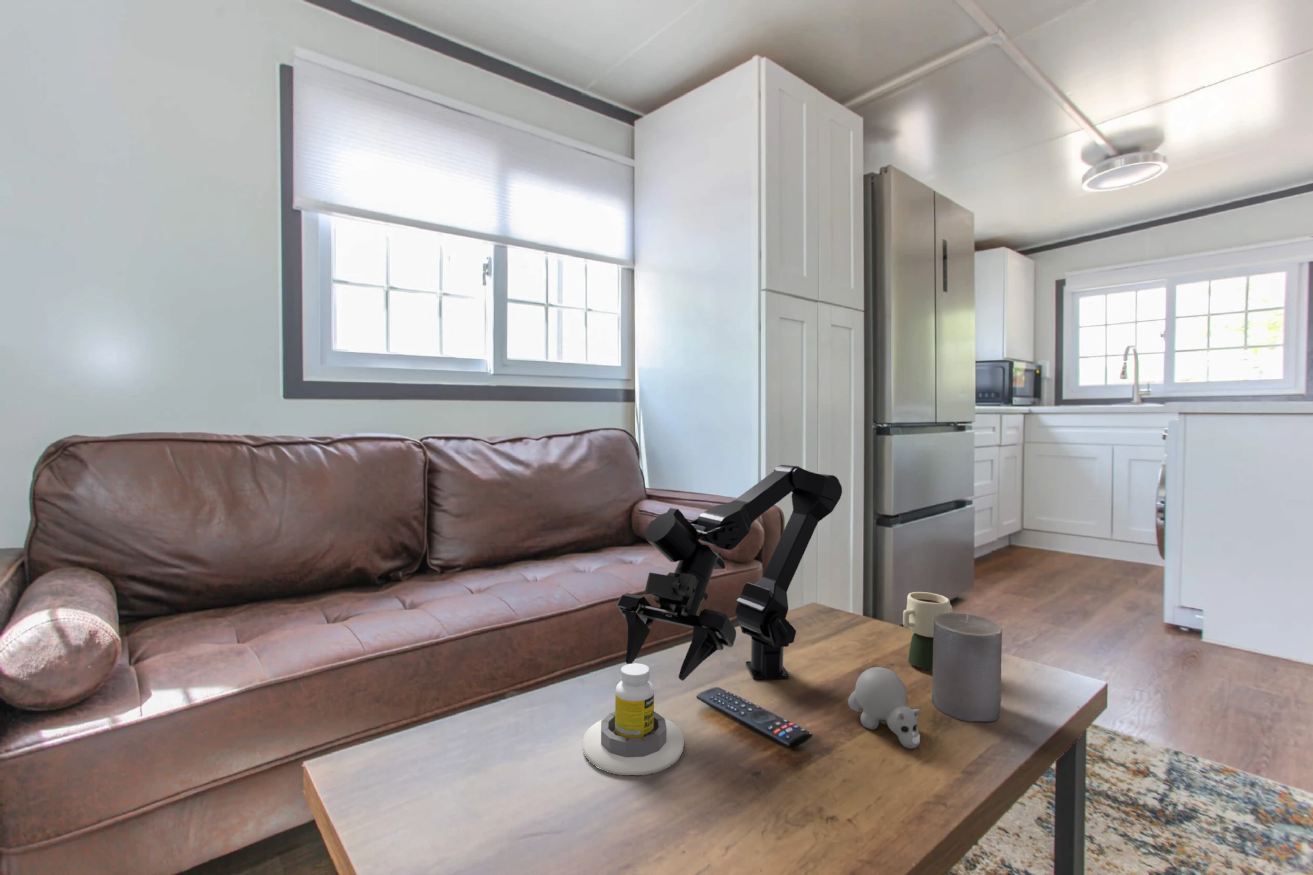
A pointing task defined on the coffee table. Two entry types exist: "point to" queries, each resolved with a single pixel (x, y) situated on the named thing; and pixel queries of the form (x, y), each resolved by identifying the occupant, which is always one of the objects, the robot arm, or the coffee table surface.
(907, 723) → the chubby cartoon animal
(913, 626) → the character mug
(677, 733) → the socket collar
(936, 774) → the coffee table surface
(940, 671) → the pillar candle
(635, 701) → the supplement bottle
